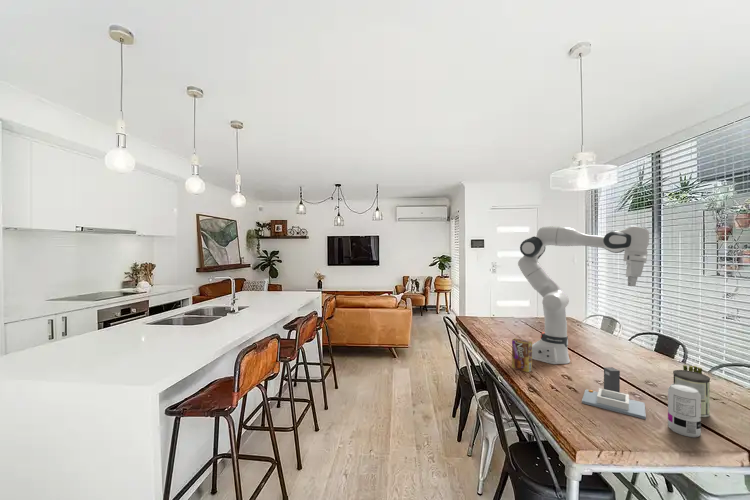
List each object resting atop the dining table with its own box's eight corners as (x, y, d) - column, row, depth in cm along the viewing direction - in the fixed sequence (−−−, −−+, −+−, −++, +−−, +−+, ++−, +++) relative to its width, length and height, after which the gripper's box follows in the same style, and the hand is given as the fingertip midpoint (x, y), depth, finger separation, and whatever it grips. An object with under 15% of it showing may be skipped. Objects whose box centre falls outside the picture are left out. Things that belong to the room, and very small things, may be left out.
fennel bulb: (681, 391, 142) (681, 364, 142) (688, 389, 144) (688, 363, 144) (698, 397, 137) (698, 369, 137) (705, 395, 139) (705, 367, 139)
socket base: (581, 403, 131) (581, 394, 131) (585, 391, 142) (585, 383, 142) (645, 419, 118) (645, 409, 118) (644, 405, 129) (644, 396, 129)
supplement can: (661, 425, 114) (661, 383, 114) (682, 424, 115) (682, 382, 115) (685, 438, 106) (685, 393, 106) (707, 437, 107) (708, 392, 107)
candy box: (532, 370, 166) (532, 341, 166) (528, 372, 163) (528, 342, 163) (515, 366, 173) (515, 337, 173) (511, 367, 170) (511, 339, 170)
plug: (603, 389, 144) (603, 367, 144) (612, 389, 144) (612, 367, 144) (610, 393, 140) (610, 370, 140) (619, 393, 140) (619, 370, 140)
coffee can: (667, 402, 132) (667, 368, 132) (699, 406, 128) (699, 371, 128) (681, 414, 122) (682, 377, 122) (716, 419, 119) (717, 381, 119)
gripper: (624, 259, 170) (620, 285, 169) (630, 256, 152) (626, 284, 152) (639, 260, 166) (635, 287, 166) (647, 257, 149) (643, 287, 149)
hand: (631, 286), depth 159 cm, fingers open, 8 cm apart
